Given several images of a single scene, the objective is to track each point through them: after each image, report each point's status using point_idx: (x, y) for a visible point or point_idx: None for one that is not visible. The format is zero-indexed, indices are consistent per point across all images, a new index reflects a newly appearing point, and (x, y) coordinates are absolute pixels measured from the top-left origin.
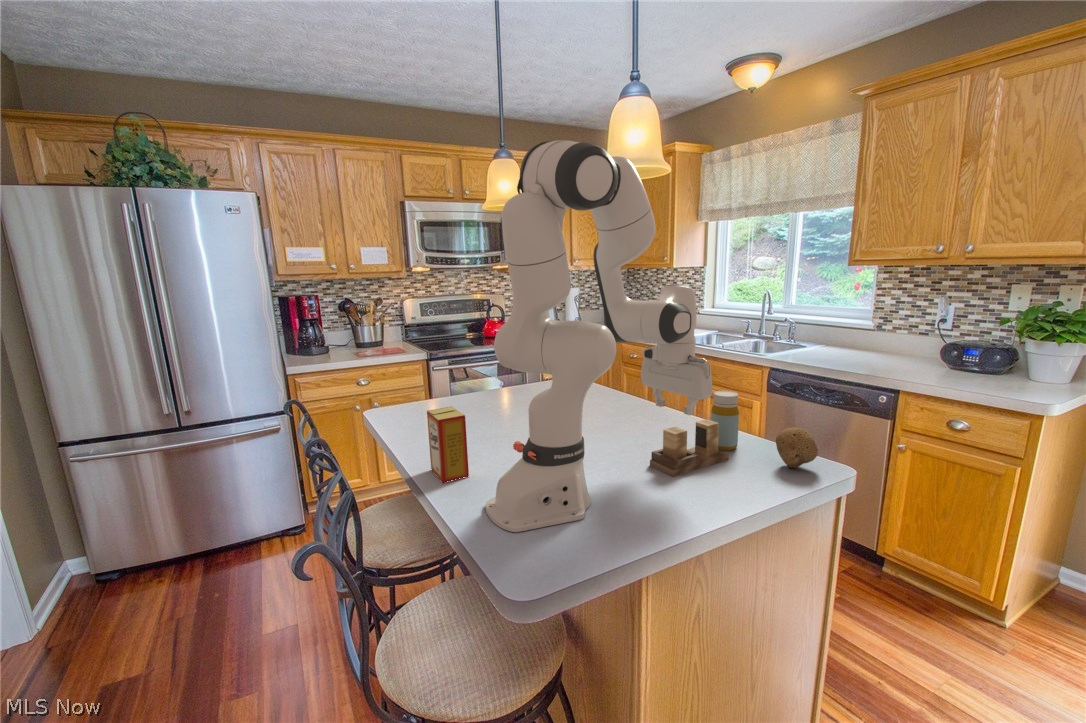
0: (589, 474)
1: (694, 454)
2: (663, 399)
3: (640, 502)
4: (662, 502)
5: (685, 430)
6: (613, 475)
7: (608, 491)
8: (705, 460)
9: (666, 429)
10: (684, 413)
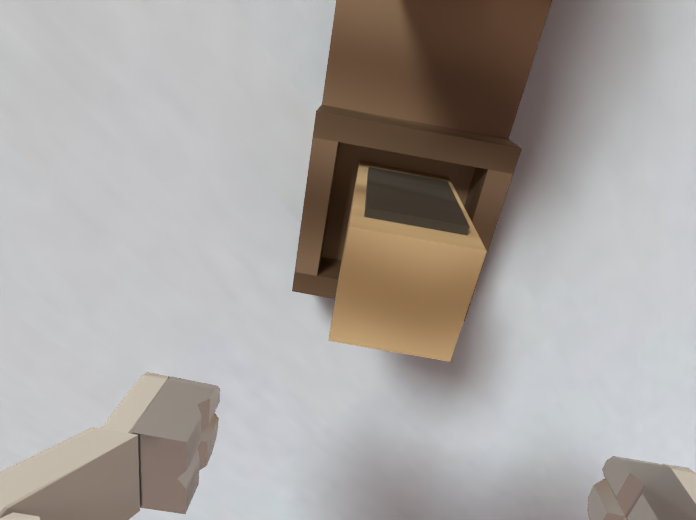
0: (216, 462)
1: (494, 159)
2: (177, 459)
3: (478, 497)
4: (534, 463)
5: (468, 249)
6: (276, 422)
7: (357, 503)
8: (524, 75)
9: (343, 325)
10: (595, 513)
